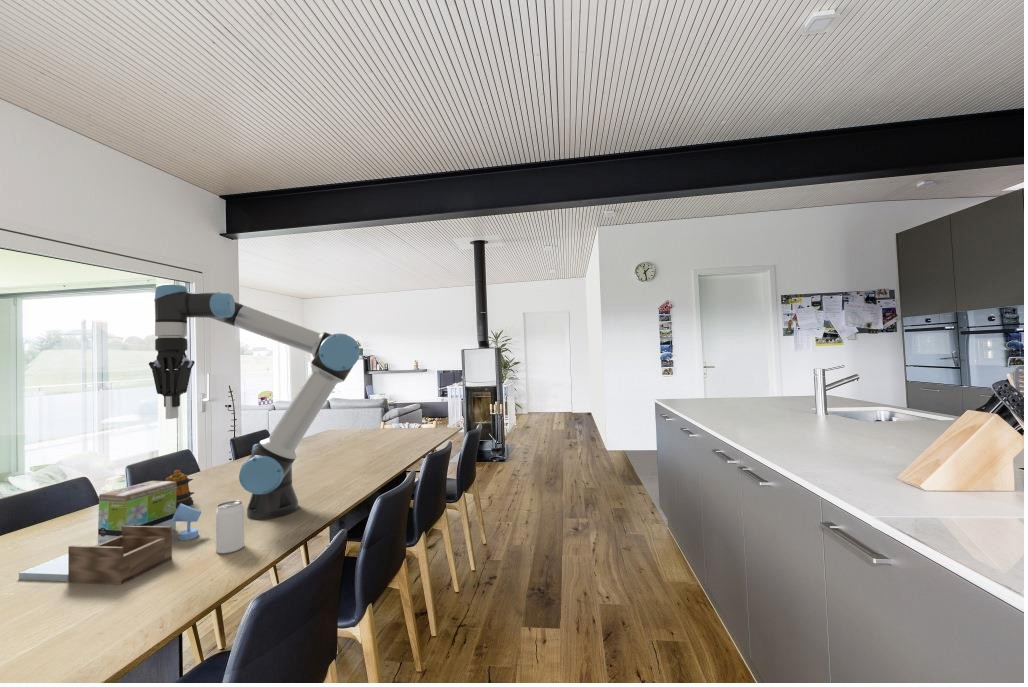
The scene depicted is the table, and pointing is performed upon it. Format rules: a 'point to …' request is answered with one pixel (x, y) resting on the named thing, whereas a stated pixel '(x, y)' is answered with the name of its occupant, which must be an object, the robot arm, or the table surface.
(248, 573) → the table surface
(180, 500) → the mug
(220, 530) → the can
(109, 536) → the tea box
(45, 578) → the cover plate
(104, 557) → the walnut box
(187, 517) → the spotlight
